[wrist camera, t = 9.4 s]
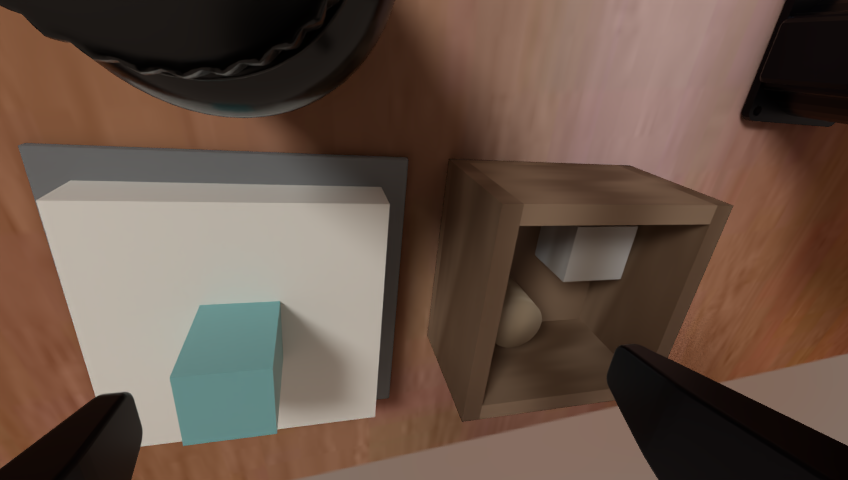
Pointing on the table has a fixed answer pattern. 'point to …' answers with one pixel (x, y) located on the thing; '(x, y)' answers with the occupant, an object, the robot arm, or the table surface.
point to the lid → (224, 300)
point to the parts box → (560, 278)
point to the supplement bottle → (219, 47)
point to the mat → (139, 164)
